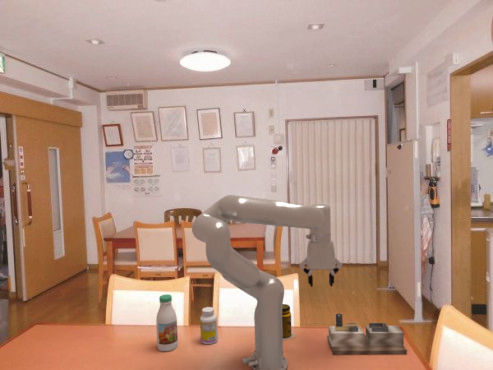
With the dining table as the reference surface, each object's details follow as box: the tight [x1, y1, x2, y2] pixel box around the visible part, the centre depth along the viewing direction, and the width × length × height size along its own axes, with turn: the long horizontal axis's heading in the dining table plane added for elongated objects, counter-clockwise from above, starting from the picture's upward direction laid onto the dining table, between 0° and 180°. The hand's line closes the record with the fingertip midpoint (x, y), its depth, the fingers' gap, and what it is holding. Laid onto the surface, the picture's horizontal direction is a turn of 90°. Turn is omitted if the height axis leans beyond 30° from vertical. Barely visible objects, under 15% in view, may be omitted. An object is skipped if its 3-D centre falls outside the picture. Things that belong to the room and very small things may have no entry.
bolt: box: [334, 313, 359, 330], centre depth 141 cm, size 8×2×6 cm, turn 87°
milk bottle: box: [155, 293, 179, 352], centre depth 144 cm, size 8×8×20 cm
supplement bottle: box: [199, 306, 219, 345], centre depth 148 cm, size 7×7×13 cm
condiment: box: [282, 303, 297, 341], centre depth 151 cm, size 7×8×12 cm
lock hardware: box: [347, 322, 389, 332], centre depth 140 cm, size 14×4×2 cm, turn 88°
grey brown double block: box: [326, 325, 408, 356], centre depth 141 cm, size 26×12×6 cm, turn 87°
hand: (321, 285), depth 140 cm, fingers open, 6 cm apart
